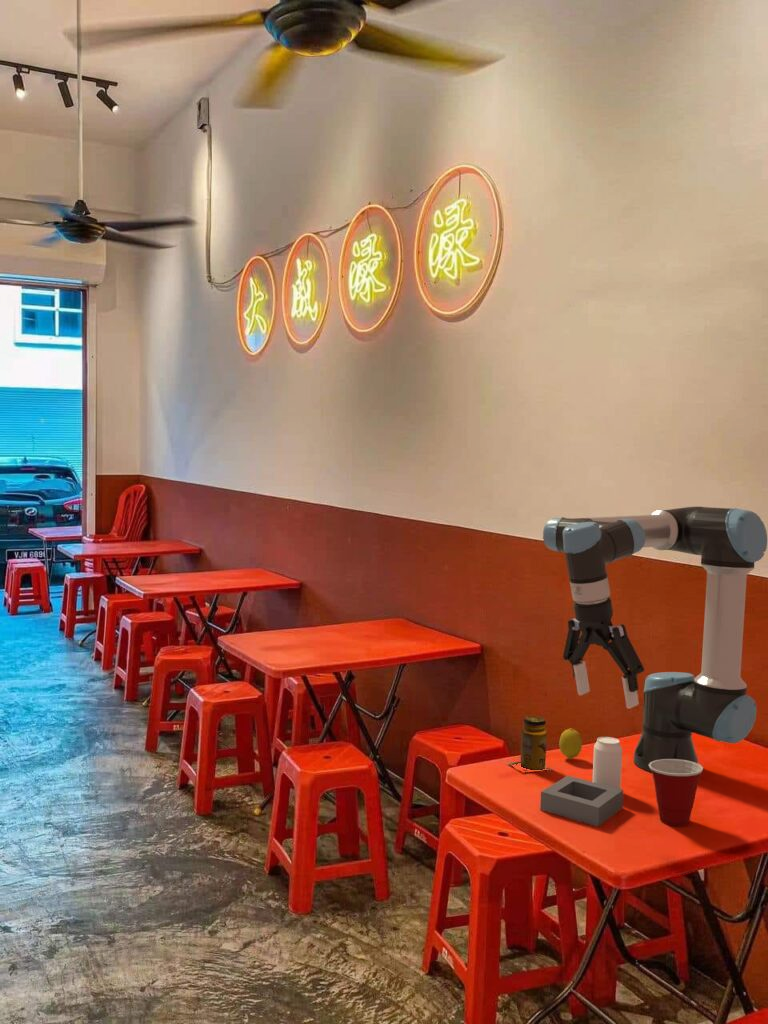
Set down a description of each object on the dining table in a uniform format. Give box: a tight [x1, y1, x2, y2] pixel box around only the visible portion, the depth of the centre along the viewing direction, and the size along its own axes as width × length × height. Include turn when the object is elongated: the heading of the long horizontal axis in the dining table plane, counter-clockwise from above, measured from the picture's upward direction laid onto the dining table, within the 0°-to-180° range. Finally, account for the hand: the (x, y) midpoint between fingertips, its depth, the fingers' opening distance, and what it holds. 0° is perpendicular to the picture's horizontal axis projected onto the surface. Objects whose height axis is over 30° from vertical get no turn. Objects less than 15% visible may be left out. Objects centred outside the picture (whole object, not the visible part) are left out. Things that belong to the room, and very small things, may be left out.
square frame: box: [539, 775, 624, 828], centre depth 187 cm, size 13×13×4 cm
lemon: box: [558, 727, 583, 760], centre depth 219 cm, size 6×6×8 cm
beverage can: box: [591, 736, 623, 789], centre depth 197 cm, size 6×6×12 cm
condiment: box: [506, 715, 553, 771], centre depth 213 cm, size 7×8×12 cm
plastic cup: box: [649, 759, 704, 827], centre depth 182 cm, size 11×11×12 cm
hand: (607, 699), depth 179 cm, fingers open, 13 cm apart
